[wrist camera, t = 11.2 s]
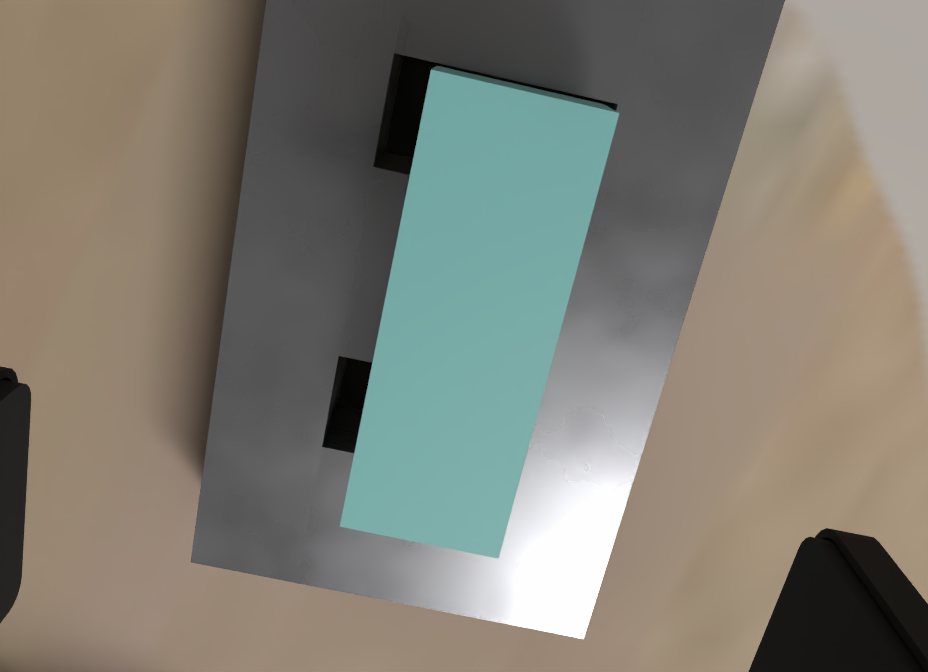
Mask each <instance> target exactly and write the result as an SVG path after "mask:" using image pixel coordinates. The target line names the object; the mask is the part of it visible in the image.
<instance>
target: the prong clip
mask: <svg viewBox="0 0 928 672" xmlns="http://www.w3.org/2000/svg"><path fill="white" fill-rule="evenodd" d="M618 116H619V113H618V112H617V111H615V110H613V109H611V108H609V107H608V106H606V105H604V104H601V103H596V102H592V101H588V100H583V99H579V98H575V97H570V96H566V95H562V94H557V93H553V92H549V91H544V90H540V89H536V88H531V87H527V86H523V85H518V84H514V83H510V82H505V81H501V80H497V79H493V78H488V77H484V76H480V75H475V74H471V73H467V72H462V71H458V70H454V69H449V68H445V67H441V66H436V67H434V68H433V69H431V72H430V77H429V82H428V87H427V92H426V97H425V102H424V107H423V112H422V117H421V122H420V127H419V132H418V137H417V142H416V147H415V152H414V157H413V162H412V167H411V172H410V177H409V182H408V187H407V192H406V197H405V202H404V207H403V212H402V217H401V222H400V227H399V232H398V237H397V242H396V247H395V252H394V257H393V262H392V267H391V272H390V277H389V282H388V287H387V292H386V297H385V302H384V307H383V312H382V317H381V322H380V327H379V332H378V337H377V342H376V347H375V352H374V357H373V362H372V367H371V372H370V377H369V382H368V387H367V392H366V397H365V402H364V407H363V412H362V417H361V422H360V427H359V432H358V437H357V442H356V447H355V452H354V457H353V462H352V467H351V472H350V477H349V482H348V487H347V492H346V497H345V503H344V508H343V513H342V518H341V523H340V527H344V528H349V529H354V530H359V531H364V532H369V533H374V534H379V535H384V536H389V537H394V538H399V539H404V540H409V541H413V542H418V543H423V544H428V545H433V546H438V547H443V548H448V549H453V550H458V551H463V552H468V553H473V554H478V555H483V556H488V557H493V558H498V559H499V555H500V551H501V548H502V544H503V540H504V536H505V533H506V529H507V525H508V522H509V518H510V514H511V511H512V507H513V503H514V500H515V496H516V492H517V489H518V485H519V481H520V478H521V474H522V470H523V466H524V463H525V459H526V455H527V452H528V448H529V444H530V441H531V437H532V433H533V430H534V426H535V422H536V419H537V415H538V411H539V408H540V404H541V400H542V396H543V393H544V389H545V385H546V382H547V378H548V374H549V371H550V367H551V363H552V360H553V356H554V352H555V349H556V345H557V341H558V338H559V334H560V330H561V326H562V323H563V319H564V315H565V312H566V308H567V304H568V301H569V297H570V293H571V290H572V286H573V282H574V279H575V275H576V271H577V268H578V264H579V260H580V256H581V253H582V249H583V245H584V242H585V238H586V234H587V231H588V227H589V223H590V220H591V216H592V212H593V209H594V205H595V201H596V198H597V194H598V190H599V186H600V183H601V179H602V175H603V172H604V168H605V164H606V161H607V157H608V153H609V150H610V146H611V142H612V139H613V135H614V131H615V128H616V124H617V120H618Z"/></svg>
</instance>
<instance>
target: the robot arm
mask: <svg viewBox="0 0 928 672" xmlns="http://www.w3.org/2000/svg"><path fill="white" fill-rule="evenodd" d="M30 410H31V392H30V388H29V386H28V385H27V384H22V383H18V379H17V376H16V373H15V372H14V370H13V369H10V368H5V367H0V623H1V622H2V620H3V619H4V618H5V616H6V615H7V614H8V612H9V611H10V609H11V608H12V606H13V604H14V602H15V600H16V597H17V595H18V592H19V588H20V584H21V577H22V560H23V541H24V523H25V504H26V485H27V466H28V447H29V428H30ZM749 672H928V604H927V603H926V601H925V600H924V599H923V598H922V596H921V595H920V594H919V592H918V591H917V590H916V589H915V587H914V586H913V585H912V584H911V582H910V581H909V580H908V578H907V577H906V576H905V575H904V573H903V572H902V571H901V569H900V568H899V567H898V566H897V564H896V563H895V562H894V561H893V559H892V558H891V557H890V555H889V554H888V553H887V552H886V550H885V549H884V548H883V547H882V545H881V544H880V543H879V542H878V541H877V540H876V539H875V538H874V537H869V536H864V535H859V534H853V533H848V532H843V531H838V530H833V529H828V528H826V529H824V530H821V531H820V532H819V533H818V534H817V535H816V537H815V538H813V537H808V538H806V539H805V540H804V541H803V542H802V543H801V545H800V547H799V549H798V552H797V554H796V557H795V559H794V561H793V564H792V566H791V569H790V571H789V574H788V576H787V579H786V581H785V584H784V586H783V589H782V591H781V593H780V596H779V598H778V601H777V603H776V606H775V608H774V611H773V613H772V616H771V618H770V621H769V623H768V625H767V628H766V630H765V633H764V635H763V638H762V640H761V643H760V645H759V648H758V650H757V653H756V655H755V657H754V660H753V662H752V665H751V667H750V670H749Z"/></svg>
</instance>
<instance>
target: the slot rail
mask: <svg viewBox="0 0 928 672" xmlns="http://www.w3.org/2000/svg"><path fill="white" fill-rule="evenodd" d="M784 1H785V0H266V6H265V14H264V21H263V28H262V36H261V43H260V51H259V58H258V66H257V73H256V80H255V88H254V95H253V103H252V110H251V118H250V125H249V133H248V140H247V147H246V155H245V162H244V170H243V177H242V185H241V192H240V200H239V207H238V214H237V222H236V229H235V237H234V244H233V252H232V259H231V266H230V274H229V281H228V289H227V296H226V304H225V311H224V319H223V326H222V333H221V341H220V348H219V356H218V363H217V371H216V378H215V386H214V393H213V400H212V408H211V415H210V423H209V430H208V438H207V445H206V452H205V460H204V467H203V475H202V482H201V490H200V497H199V505H198V512H197V519H196V527H195V534H194V542H193V549H192V557H191V562H192V563H197V564H202V565H208V566H213V567H218V568H223V569H228V570H233V571H238V572H243V573H248V574H254V575H259V576H264V577H269V578H274V579H279V580H284V581H289V582H295V583H300V584H305V585H310V586H315V587H320V588H325V589H330V590H335V591H341V592H346V593H351V594H356V595H361V596H366V597H371V598H376V599H381V600H387V601H392V602H397V603H402V604H407V605H412V606H417V607H422V608H428V609H433V610H438V611H443V612H448V613H453V614H458V615H463V616H468V617H474V618H479V619H484V620H489V621H494V622H499V623H504V624H509V625H515V626H520V627H525V628H530V629H535V630H540V631H545V632H550V633H555V634H561V635H566V636H571V637H576V638H581V639H584V636H585V633H586V629H587V626H588V623H589V620H590V617H591V614H592V610H593V607H594V604H595V601H596V598H597V594H598V591H599V588H600V585H601V582H602V579H603V575H604V572H605V569H606V566H607V563H608V560H609V556H610V553H611V550H612V547H613V544H614V541H615V537H616V534H617V531H618V528H619V525H620V522H621V518H622V515H623V512H624V509H625V506H626V503H627V499H628V496H629V493H630V490H631V487H632V483H633V480H634V477H635V474H636V471H637V468H638V464H639V461H640V458H641V455H642V452H643V449H644V445H645V442H646V439H647V436H648V433H649V430H650V426H651V423H652V420H653V417H654V414H655V411H656V407H657V404H658V401H659V398H660V395H661V391H662V388H663V385H664V382H665V379H666V376H667V372H668V369H669V366H670V363H671V360H672V357H673V353H674V350H675V347H676V344H677V341H678V338H679V334H680V331H681V328H682V325H683V322H684V319H685V315H686V312H687V309H688V306H689V303H690V300H691V296H692V293H693V290H694V287H695V284H696V280H697V277H698V274H699V271H700V268H701V265H702V261H703V258H704V255H705V252H706V249H707V246H708V242H709V239H710V236H711V233H712V230H713V227H714V223H715V220H716V217H717V214H718V211H719V208H720V204H721V201H722V198H723V195H724V192H725V189H726V185H727V182H728V179H729V176H730V173H731V169H732V166H733V163H734V160H735V157H736V154H737V150H738V147H739V144H740V141H741V138H742V135H743V131H744V128H745V125H746V122H747V119H748V116H749V112H750V109H751V106H752V103H753V100H754V97H755V93H756V90H757V87H758V84H759V81H760V78H761V74H762V71H763V68H764V65H765V62H766V58H767V55H768V52H769V49H770V46H771V43H772V39H773V36H774V33H775V30H776V27H777V24H778V20H779V17H780V14H781V11H782V8H783V5H784ZM403 55H405V56H409V57H414V58H418V59H422V60H427V61H431V62H435V63H440V64H444V65H449V66H453V67H457V68H462V69H466V70H471V71H475V72H479V73H484V74H488V75H492V76H497V77H501V78H506V79H510V80H514V81H519V82H523V83H528V84H532V85H536V86H541V87H545V88H549V89H554V90H558V91H563V92H567V93H571V94H576V95H580V96H584V97H589V98H593V99H598V100H601V102H600V103H601V104H604V105H606V106H608V107H609V108H611V109H613V110H615V111H617V112H618V113H619V116H618V120H617V124H616V128H615V131H614V135H613V139H612V142H611V146H610V150H609V153H608V157H607V161H606V164H605V168H604V172H603V175H602V179H601V183H600V186H599V190H598V194H597V198H596V201H595V205H594V209H593V212H592V216H591V220H590V223H589V227H588V231H587V234H586V238H585V242H584V245H583V249H582V253H581V256H580V260H579V264H578V268H577V271H576V275H575V279H574V282H573V286H572V290H571V293H570V297H569V301H568V304H567V308H566V312H565V315H564V319H563V323H562V326H561V330H560V334H559V338H558V341H557V345H556V349H555V352H554V356H553V360H552V363H551V367H550V371H549V374H548V378H547V382H546V385H545V389H544V393H543V396H542V400H541V404H540V408H539V411H538V415H537V419H536V422H535V426H534V430H533V433H532V437H531V441H530V444H529V448H528V452H527V455H526V459H525V463H524V466H523V470H522V474H521V478H520V481H519V485H518V489H517V492H516V496H515V500H514V503H513V507H512V511H511V514H510V518H509V522H508V525H507V529H506V533H505V536H504V540H503V544H502V548H501V551H500V555H499V559H498V558H493V557H488V556H483V555H478V554H473V553H468V552H463V551H458V550H453V549H448V548H443V547H438V546H433V545H428V544H423V543H418V542H413V541H409V540H404V539H399V538H394V537H389V536H384V535H379V534H374V533H369V532H364V531H359V530H354V529H349V528H344V527H340V523H341V518H342V513H343V508H344V503H345V497H346V492H347V487H348V482H349V477H350V472H351V467H352V462H353V457H354V452H355V447H356V442H357V437H358V432H359V427H360V422H361V417H362V412H363V409H358V408H353V407H348V406H343V405H339V399H340V394H341V389H342V383H343V378H344V373H345V367H346V362H347V358H352V359H357V360H361V361H366V362H371V363H372V362H373V357H374V352H375V347H376V342H377V337H378V332H379V327H380V322H381V317H382V312H383V307H384V302H385V297H386V292H387V287H388V282H389V277H390V272H391V267H392V262H393V257H394V252H395V247H396V242H397V237H398V232H399V227H400V222H401V217H402V212H403V207H404V202H405V197H406V192H407V187H408V182H409V177H410V172H411V167H412V162H413V158H410V157H405V156H401V155H396V154H392V153H387V152H386V146H387V141H388V136H389V130H390V125H391V120H392V114H393V109H394V103H395V98H396V93H397V87H398V82H399V77H400V71H401V66H402V60H403Z"/></svg>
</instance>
